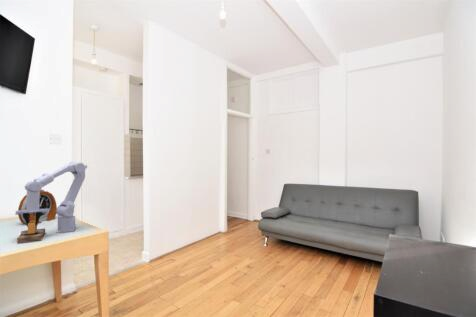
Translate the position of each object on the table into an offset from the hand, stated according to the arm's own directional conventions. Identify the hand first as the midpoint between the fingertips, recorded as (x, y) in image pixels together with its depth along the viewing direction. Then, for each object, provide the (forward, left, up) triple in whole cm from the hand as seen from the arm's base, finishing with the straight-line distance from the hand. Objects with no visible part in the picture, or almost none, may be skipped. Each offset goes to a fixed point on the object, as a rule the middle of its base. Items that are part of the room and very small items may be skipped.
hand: (32, 225), depth 139 cm
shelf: (0, 0, -7) cm, 7 cm away
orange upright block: (0, 0, -3) cm, 3 cm away
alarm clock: (+2, -42, -7) cm, 42 cm away
